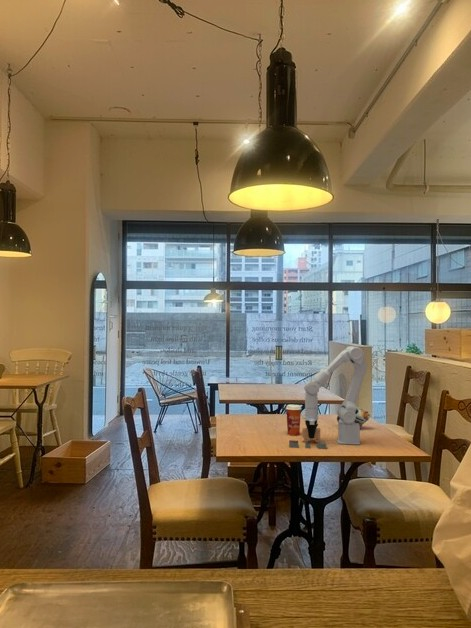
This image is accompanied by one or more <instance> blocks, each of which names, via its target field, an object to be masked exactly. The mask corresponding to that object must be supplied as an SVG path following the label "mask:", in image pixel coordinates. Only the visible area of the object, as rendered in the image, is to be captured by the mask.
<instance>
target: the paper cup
mask: <svg viewBox="0 0 471 628" xmlns="http://www.w3.org/2000/svg"><path fill="white" fill-rule="evenodd" d="M285 409H286V421H287V422H286V424H287V429H286V430H287V435H288V436H291V437H292V436H293V437H298V436H300V430H301V429H300V428H301V415H302V414H301V413H302V406H301V405H299V404H287V405H286V407H285Z"/></svg>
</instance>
